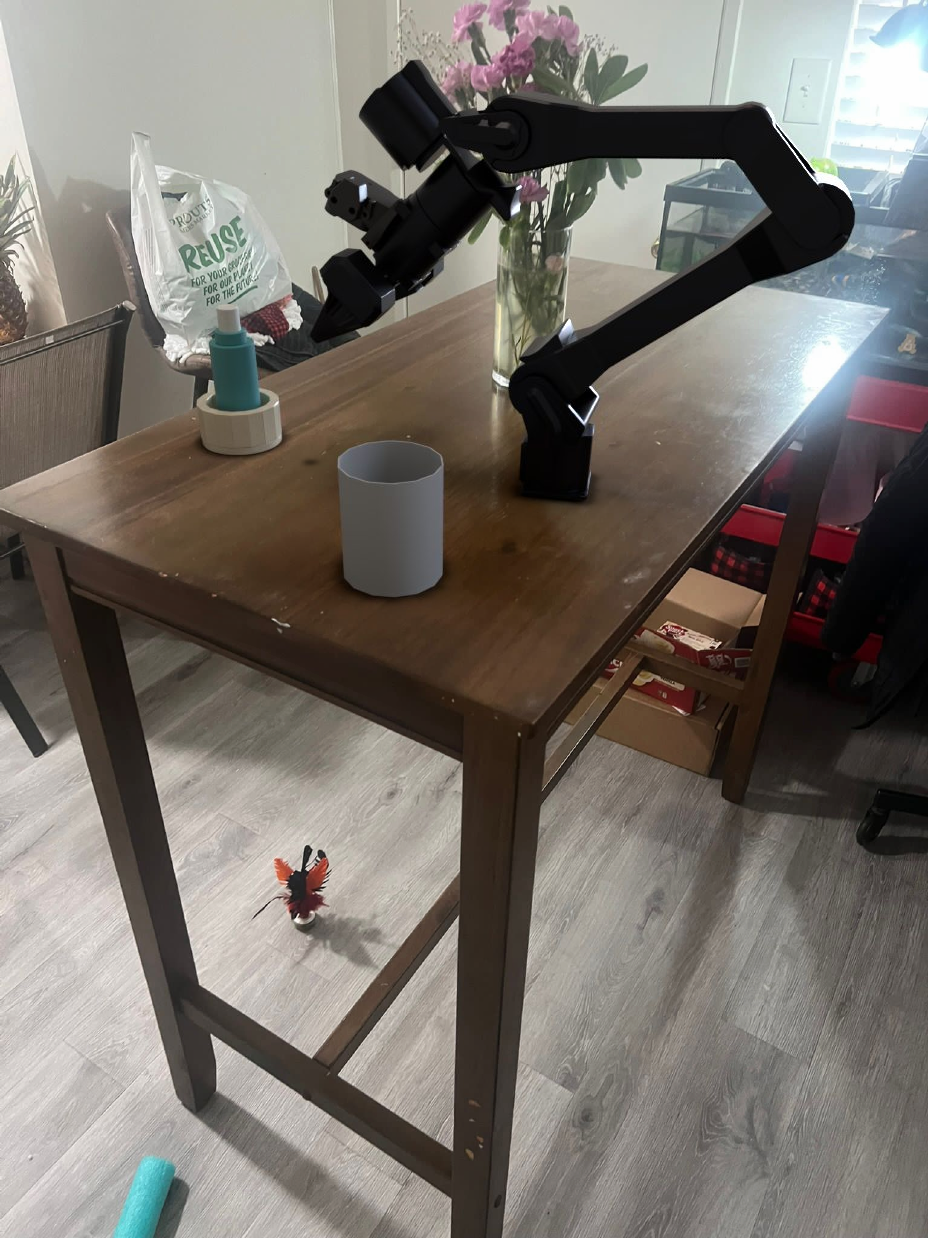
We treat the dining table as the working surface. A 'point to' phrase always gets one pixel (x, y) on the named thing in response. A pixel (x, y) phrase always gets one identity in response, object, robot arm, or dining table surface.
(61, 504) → the dining table surface
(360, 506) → the cup
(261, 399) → the holder
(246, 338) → the bottle
